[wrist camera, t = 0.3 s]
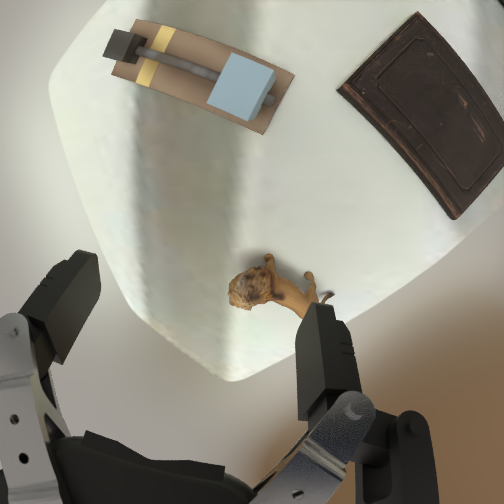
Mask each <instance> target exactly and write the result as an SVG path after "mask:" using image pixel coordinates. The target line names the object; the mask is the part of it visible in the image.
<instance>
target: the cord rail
mask: <svg viewBox="0 0 504 504" xmlns="http://www.w3.org/2000/svg"><path fill="white" fill-rule="evenodd" d="M231 53H235V54H237V55H240V56H242V57H245V58H247V59H250V60H252V61H254V62H257V63H259V64H261V65H264V66H266V67H268V68H270V69H273V70H274V72H275V75H276V80H275V82H274V84H273V86H272V88H271V90H270V91H268V93H267V95H266V97H265V99H264V101H263V103H262V105H261V106H262V107H261V109H260V110H259V112H258V114H257V116H256V118H255V119H252V120H249V121H246V120H244V119H241V118H239V117H237V116H235V115H233V114H230V113H228V112H226V111H224V110H221V109H219V108H217V107H214V106H212V105H210V104H207V101H208V99H209V97H210V95H211V93H212V90H213V88H214V86H215V84H216V82H217V80H218V78H219V76H220V74H221V72H222V70H223V68H224V67H225V65H226V63H227V61H228V59H229V57H230V55H231ZM103 57H106V58H110V59H114V60H117V61H116V64H115V66H114V69H113V71H112V74H111V75H114V76H117V77H120V78H123V79H126V80H129V81H132V82H135V83H138V84H141V85H144V86H147V87H150V88H153V89H155V90H158V91H161V92H164V93H166V94H169V95H172V96H174V97H177V98H179V99H182V100H184V101H187V102H189V103H192V104H194V105H197V106H199V107H202V108H204V109H206V110H209V111H211V112H213V113H216V114H218V115H220V116H223V117H225V118H227V119H229V120H231V121H234V122H236V123H238V124H240V125H242V126H245V127H247V128H249V129H251V130H253V131H255V132H257V133H259V134H261V135H263V133H264V131H265V129H266V127H267V126H268V124H269V122H270V120H271V118H272V116H273V114H274V112H275V110H276V108H277V107H278V105H279V103H280V101H281V99H282V97H283V95H284V94H285V92H286V90H287V88H288V86H289V84H290V83H291V81H292V79H293V77H294V74H292V73H290V72H288V71H286V70H284V69H282V68H280V67H277V66H275V65H273V64H271V63H269V62H266V61H264V60H262V59H259V58H257V57H255V56H252V55H250V54H247V53H245V52H242V51H240V50H237V49H235V48H232V47H229V46H227V45H224V44H221V43H219V42H216V41H213V40H210V39H207V38H204V37H201V36H198V35H195V34H191V33H188V32H185V31H182V30H178V29H175V28H171V27H168V26H164V25H160V24H156V23H151V22H147V21H143V20H138V19H136V20H135V22H134V24H133V26H132V28H131V30H130V32H126V31H121V30H117V29H114V31H113V33H112V35H111V38H110V40H109V42H108V44H107V47H106V49H105V51H104V54H103Z"/></svg>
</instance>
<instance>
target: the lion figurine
mask: <svg viewBox="0 0 504 504" xmlns="http://www.w3.org/2000/svg"><path fill="white" fill-rule="evenodd" d="M264 260H265V261H266V262H267V265H266V268H264V267H262V266H259V267H257V268H256V267H252V268H249V269H248V270H247V271H245V272H243V273H241V274H238V276H236V277H235V278H234V279H233V280H231V282H230V283H229V292H228V296H229V303H230V304H231V305H232V306H235V305H236V307H238V308H242V309H243V308H244V309H245V310H251V308H252V306H255V305H257V304H265V303H267V302H268V301H274V302H276V303H278V304H280V305H282V306H285V307H287V308H289V309H291V310H293V311H294V312H295V313H296V314H297V315H298V316H299V317H300V318H301V319H303V318H304V316H305V314H306V312H307V310H308V308H309V305H310V304H311V303H312V302H318V303H319V300H318V297H317V295H316V293H315V290H316V285H315V282H314V277H313V274H312V273H311V272H306V274H305V275H304V277H305V279H306V280H308V281H309V283H310V287H309V288H308V290H307V292H306V293H303V292H302V291H301V290H300V289H299V288H298V287H297V286H296V285H295V284H294V283H292V282H291V281H289V280H287V279H285V278H282V277H279V276H278V275H277V273H276V270H275V262H274V258H273V256H272V255H271V254H267V255H265V258H264ZM334 295H335V294H333V293H329V294H327V295H326V296H325V297H324V298H323V300H322V302H321V303H323V304H325V301H326V300H327V299H328V298H331V297H332V296H334Z"/></svg>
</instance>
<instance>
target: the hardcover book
mask: <svg viewBox="0 0 504 504" xmlns="http://www.w3.org/2000/svg"><path fill="white" fill-rule="evenodd" d="M337 92H339V93H340V94H341V95H342V96H343V97H344V98H345V99H346V100H347V101H348V102H349V103H350V104H352V105H353V106H354V107H355V108H356V109H357V110H358V111H359V112H360V113H361V114H362V115H363V116H364V117H365V118H366V119H367V120H368V121H369V122H370V123H371V124H372V125H373V126H374V127H375V128H376V129H377V130H378V131H379V132H380V133H381V134H382V136H383V137H384V138H385V139H386V140H387V141H388V142H389V143H390V144H391V145H392V146H393V147H394V149H395V150H396V151H397V152H398V153H399V154H400V155H401V156H402V158H403V159H404V160H405V161H406V162H407V163H408V165H409V166H410V167H411V168H412V169H413V171H414V172H415V173H416V174H417V175H418V177H419V178H420V179H421V180H422V182H423V183H424V184H425V185H426V187H427V188H428V189H429V191H430V192H431V193H432V194H433V196H434V197H435V198H436V200H437V201H438V202H439V204H440V205H441V207H442V208H443V209H444V211H445V212H446V213H447V215H448V216H449V218H450V219H452V220H456V219H458V218H459V217H460V216H461V215H462V213H463V212H464V211H465V210H466V209H467V208H468V207H469V206H470V205H471V204H472V203H473V202H474V200H475V199H476V198H477V197H478V196H479V195H480V194H481V193H482V191H483V190H484V189H485V188H486V187H487V186H488V184H489V183H490V182H491V181H492V180H493V179H494V177H495V176H496V175H497V174H498V173H499V171H500V170H501V169H502V168H503V166H504V121H503V119H502V117H501V116H500V114H499V112H498V111H497V109H496V108H495V106H494V104H493V103H492V101H491V100H490V98H489V97H488V95H487V94H486V92H485V91H484V89H483V88H482V86H481V85H480V83H479V82H478V81H477V79H476V78H475V76H474V75H473V74H472V72H471V71H470V70H469V68H468V67H467V66H466V64H465V63H464V62H463V61H462V59H461V58H460V57H459V56H458V54H457V53H456V52H455V51H454V50H453V48H452V47H451V46H450V45H449V44H448V43H447V41H446V40H445V39H444V38H443V37H442V36H441V35H440V34H439V32H438V31H437V30H436V29H435V28H434V27H433V26H432V25H431V24H430V23H429V22H428V21H427V20H426V19H425V18H424V17H423V16H422V15H421V14H420V13H419V12H418V11H417V12H416V13H415V14H414V15H413V16H412V17H411V18H410V19H408V20H407V21H406V22H405V23H404V24H403V25H402V26H401V27H400V28H399V29H398V30H397V31H396V32H395V33H394V34H393V35H392V36H391V37H390V38H389V39H388V40H387V41H386V42H384V43H383V44H382V45H381V46H380V47H379V48H378V49H377V50H376V51H375V52H374V53H373V54H372V55H371V56H370V57H369V58H368V59H367V60H366V61H365V62H364V63H363V64H362V65H361V66H360V67H359V68H358V69H357V70H356V71H355V72H354V74H353V75H352V76H351V77H350V78H349V79H348V80H347V81H346V82H345V83H344V84H343V85H342V86H341V87H340V88H339V89H337Z"/></svg>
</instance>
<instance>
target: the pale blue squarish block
mask: <svg viewBox="0 0 504 504" xmlns="http://www.w3.org/2000/svg"><path fill="white" fill-rule="evenodd" d="M275 80H276V75H275V72H274V70H273V69H270V68H268V67H266V66H264V65H261V64H259V63H257V62H254V61H252V60H250V59H247V58H245V57H242V56H240V55H237V54H235V53H231V55H230V57H229V59H228V61H227V63H226V65H225V67H224V68H223V70H222V72H221V74H220V76H219V78H218V80H217V82H216V84H215V86H214V88H213V90H212V93H211V95H210V97H209V99H208V101H207V104H210V105H212V106H214V107H217V108H219V109H221V110H224V111H226V112H228V113H230V114H233V115H235V116H237V117H239V118H241V119H244V120H246V121H249V120H252V119H255V118H256V116H257V114H258V112H259V110H260V109H261V107H262V106H261V105H262V103H263V101H264V99H265V97H266V95H267V93H268V91H270V90H271V88H272V86H273V84H274V82H275Z"/></svg>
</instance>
